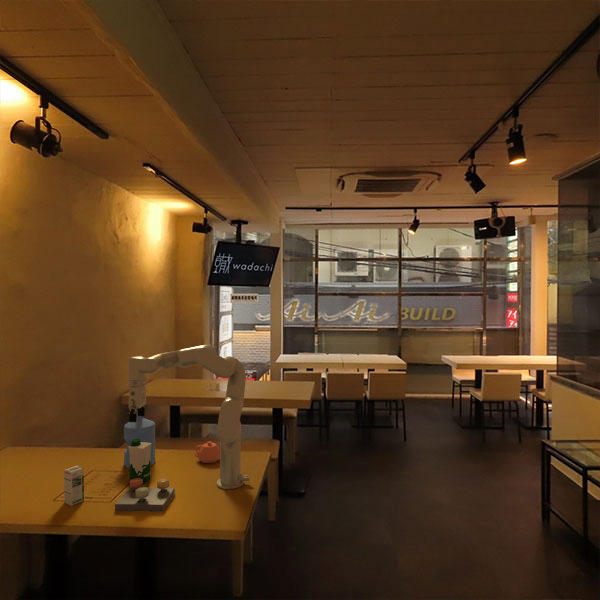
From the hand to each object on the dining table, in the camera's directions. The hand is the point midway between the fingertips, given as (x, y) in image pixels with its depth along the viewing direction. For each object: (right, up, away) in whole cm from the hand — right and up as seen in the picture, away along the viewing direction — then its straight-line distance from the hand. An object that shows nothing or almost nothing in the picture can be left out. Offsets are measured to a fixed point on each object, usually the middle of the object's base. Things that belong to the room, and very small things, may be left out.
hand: (137, 419), depth 208 cm
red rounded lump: (+5, -28, -14) cm, 32 cm away
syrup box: (-20, -31, -19) cm, 41 cm away
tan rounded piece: (+17, -28, -14) cm, 36 cm away
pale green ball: (+11, -28, -23) cm, 38 cm away
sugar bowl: (+28, -30, +29) cm, 50 cm away
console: (+11, -31, -19) cm, 38 cm away
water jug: (-8, -30, +24) cm, 39 cm away
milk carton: (+1, -31, +1) cm, 31 cm away
